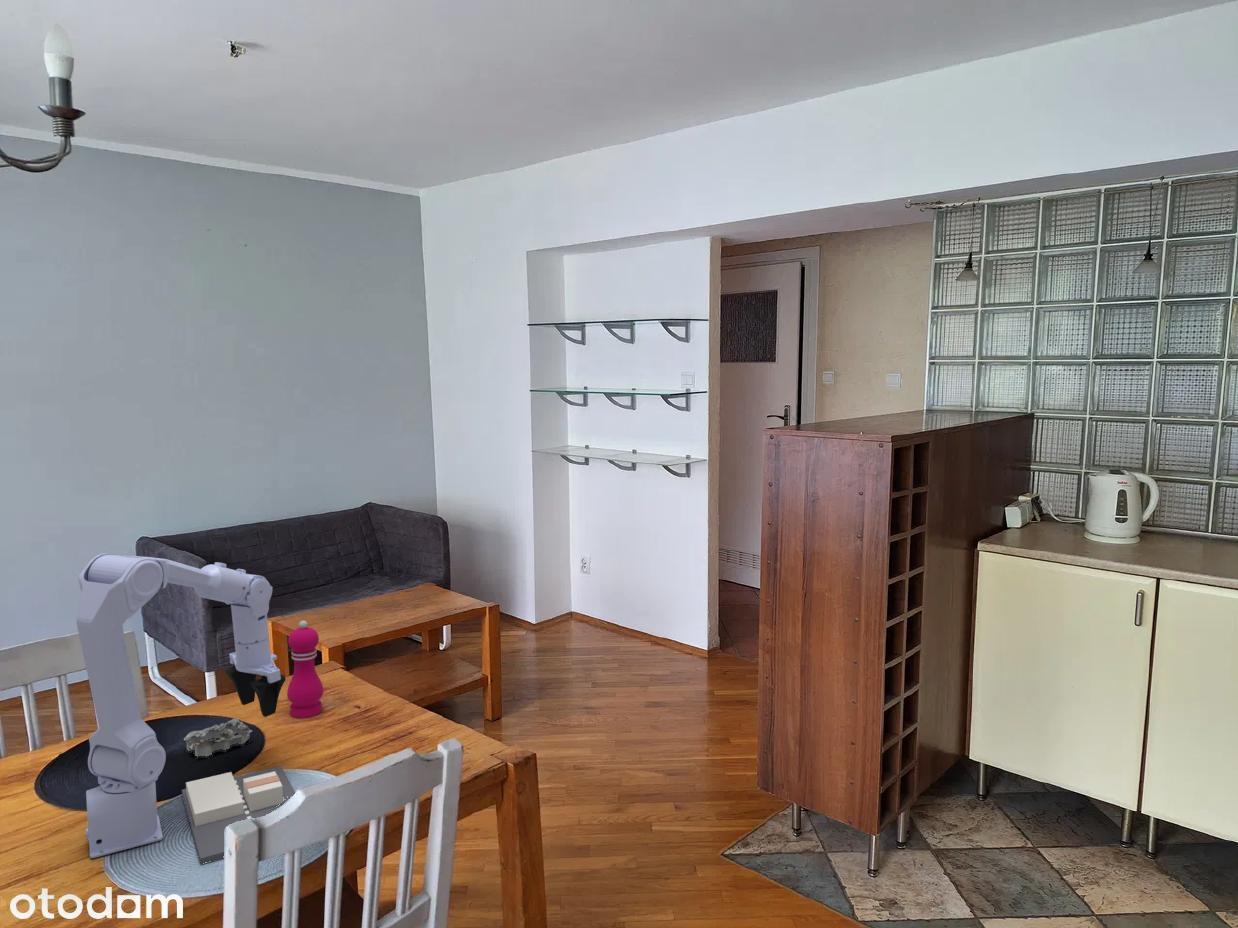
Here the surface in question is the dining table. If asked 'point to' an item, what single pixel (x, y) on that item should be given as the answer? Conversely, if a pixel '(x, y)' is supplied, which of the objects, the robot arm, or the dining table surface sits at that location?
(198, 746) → the egg carton
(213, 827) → the mat
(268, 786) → the stub
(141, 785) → the robot arm
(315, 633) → the pepper mill
